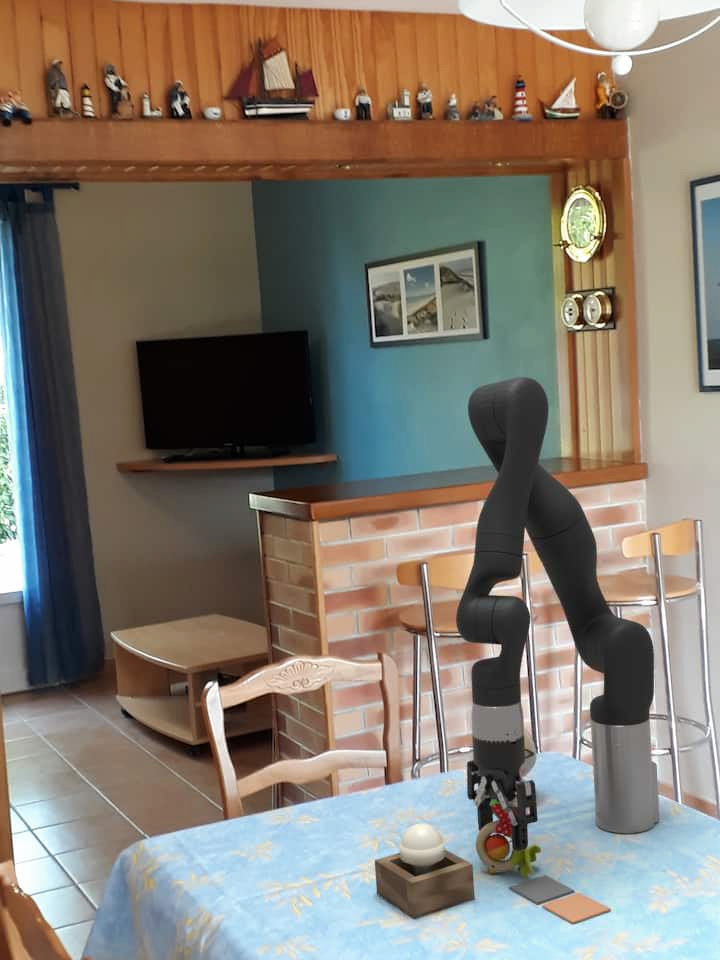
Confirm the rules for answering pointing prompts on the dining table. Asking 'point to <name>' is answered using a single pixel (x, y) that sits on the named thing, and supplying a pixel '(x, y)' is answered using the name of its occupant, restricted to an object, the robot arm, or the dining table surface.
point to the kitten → (529, 759)
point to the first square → (541, 889)
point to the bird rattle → (503, 846)
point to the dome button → (422, 848)
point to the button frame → (424, 884)
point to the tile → (576, 908)
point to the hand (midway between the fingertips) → (502, 840)
